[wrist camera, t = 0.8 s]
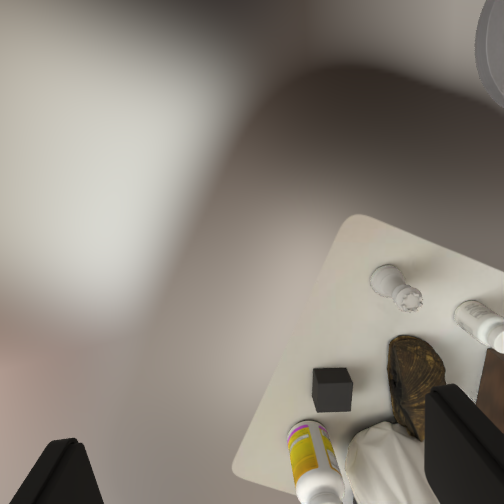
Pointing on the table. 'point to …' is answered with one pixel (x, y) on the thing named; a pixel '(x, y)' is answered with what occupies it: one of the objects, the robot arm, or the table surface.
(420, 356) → the seashell
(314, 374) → the black cube
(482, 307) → the pill bottle
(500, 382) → the box
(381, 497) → the vase
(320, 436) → the supplement bottle
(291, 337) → the table surface
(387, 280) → the rook chess piece
